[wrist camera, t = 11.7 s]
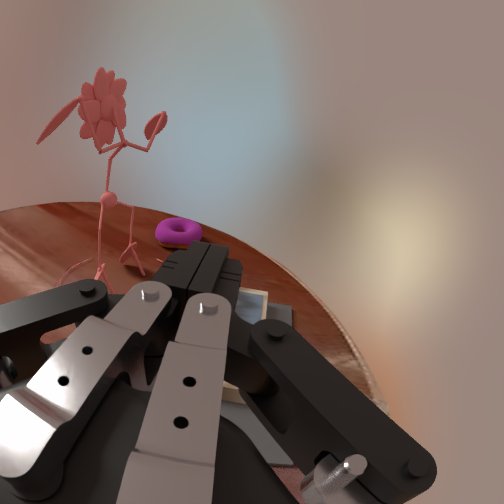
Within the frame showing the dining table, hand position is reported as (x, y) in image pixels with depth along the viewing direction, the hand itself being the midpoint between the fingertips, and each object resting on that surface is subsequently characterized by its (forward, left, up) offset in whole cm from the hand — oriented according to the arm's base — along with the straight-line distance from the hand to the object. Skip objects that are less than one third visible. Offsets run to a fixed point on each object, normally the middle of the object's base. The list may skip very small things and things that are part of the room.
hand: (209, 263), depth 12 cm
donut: (-49, +10, -22) cm, 55 cm away
